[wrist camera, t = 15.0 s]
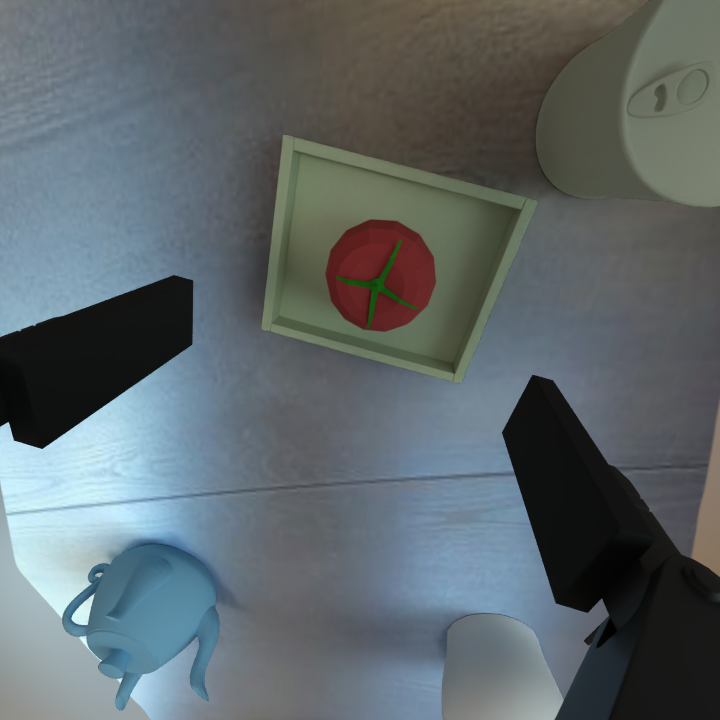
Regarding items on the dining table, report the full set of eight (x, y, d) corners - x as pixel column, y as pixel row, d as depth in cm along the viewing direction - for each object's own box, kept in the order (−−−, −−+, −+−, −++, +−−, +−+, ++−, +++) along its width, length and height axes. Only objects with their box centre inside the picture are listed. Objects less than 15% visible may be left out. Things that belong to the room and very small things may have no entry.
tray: (528, 198, 26) (538, 200, 24) (457, 370, 33) (460, 384, 30) (294, 138, 27) (282, 133, 24) (272, 319, 33) (261, 329, 31)
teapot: (255, 598, 53) (213, 704, 42) (171, 620, 60) (115, 717, 49) (177, 520, 48) (106, 619, 37) (93, 553, 54) (12, 646, 43)
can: (531, 60, 23) (630, -50, 12) (703, 5, 21) (1008, -188, 10) (537, 213, 26) (618, 232, 16) (684, 179, 24) (893, 175, 14)
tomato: (454, 249, 28) (466, 270, 21) (401, 330, 31) (397, 371, 24) (363, 195, 27) (344, 198, 20) (320, 284, 31) (291, 313, 24)
